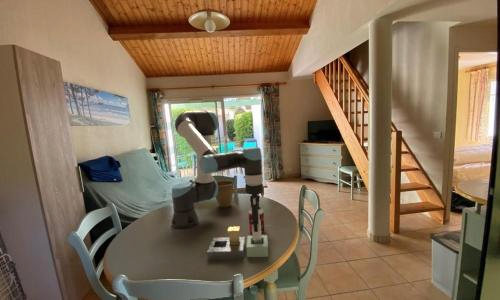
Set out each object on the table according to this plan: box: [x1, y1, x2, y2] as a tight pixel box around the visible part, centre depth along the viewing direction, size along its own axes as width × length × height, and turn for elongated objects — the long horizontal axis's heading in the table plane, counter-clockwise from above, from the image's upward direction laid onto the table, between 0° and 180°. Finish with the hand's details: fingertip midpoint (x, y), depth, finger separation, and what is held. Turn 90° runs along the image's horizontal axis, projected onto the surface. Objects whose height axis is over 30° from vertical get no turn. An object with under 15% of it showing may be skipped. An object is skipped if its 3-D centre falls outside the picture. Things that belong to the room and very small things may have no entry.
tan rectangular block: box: [227, 226, 241, 246], centre depth 104 cm, size 4×5×10 cm
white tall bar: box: [251, 215, 262, 244], centre depth 103 cm, size 4×4×17 cm
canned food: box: [248, 208, 265, 235], centre depth 122 cm, size 8×8×11 cm
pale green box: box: [245, 234, 269, 258], centre depth 104 cm, size 10×9×4 cm
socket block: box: [206, 236, 246, 261], centre depth 105 cm, size 12×15×4 cm
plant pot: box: [215, 180, 235, 208], centre depth 162 cm, size 15×15×16 cm
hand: (256, 230), depth 103 cm, fingers open, 13 cm apart
